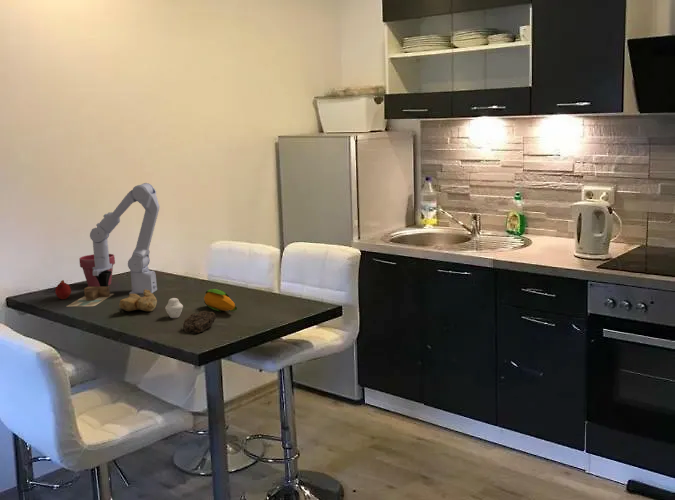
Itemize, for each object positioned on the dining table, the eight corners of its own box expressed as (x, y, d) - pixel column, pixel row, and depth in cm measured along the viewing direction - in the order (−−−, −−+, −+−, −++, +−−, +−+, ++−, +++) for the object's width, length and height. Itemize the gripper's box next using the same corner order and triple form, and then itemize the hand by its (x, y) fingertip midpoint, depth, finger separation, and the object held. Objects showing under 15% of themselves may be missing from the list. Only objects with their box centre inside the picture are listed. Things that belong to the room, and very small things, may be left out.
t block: (109, 295, 292) (109, 286, 291) (100, 300, 283) (100, 291, 283) (88, 295, 293) (87, 286, 292) (78, 300, 284) (77, 291, 284)
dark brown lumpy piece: (199, 322, 252) (198, 308, 251) (221, 326, 246) (220, 311, 245) (175, 331, 242) (174, 316, 241) (197, 335, 237) (196, 320, 236)
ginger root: (147, 314, 259) (141, 292, 259) (111, 321, 265) (106, 300, 265) (172, 304, 274) (166, 283, 273) (138, 311, 280) (132, 291, 279)
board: (114, 295, 294) (114, 293, 294) (94, 307, 275) (93, 306, 275) (88, 295, 295) (88, 293, 295) (66, 307, 276) (66, 306, 276)
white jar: (174, 320, 255) (173, 300, 254) (162, 318, 258) (160, 298, 257) (187, 315, 260) (185, 296, 259) (174, 313, 263) (173, 294, 262)
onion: (66, 302, 285) (64, 282, 283) (53, 302, 286) (51, 282, 285) (74, 298, 291) (72, 278, 289) (61, 298, 292) (59, 278, 290)
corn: (215, 283, 274) (242, 292, 258) (218, 303, 276) (245, 313, 260) (197, 288, 270) (224, 298, 254) (200, 308, 271) (226, 318, 256)
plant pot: (91, 282, 319) (89, 253, 317) (122, 281, 317) (119, 252, 315) (76, 289, 305) (72, 259, 303) (107, 289, 303) (105, 259, 301)
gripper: (99, 253, 302) (102, 285, 305) (84, 260, 288) (87, 293, 291) (116, 253, 302) (118, 285, 304) (101, 260, 288) (104, 293, 290)
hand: (104, 289), depth 297 cm, fingers closed
